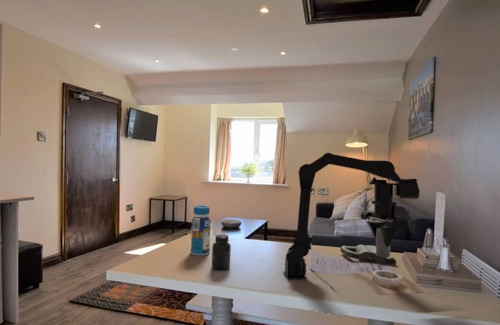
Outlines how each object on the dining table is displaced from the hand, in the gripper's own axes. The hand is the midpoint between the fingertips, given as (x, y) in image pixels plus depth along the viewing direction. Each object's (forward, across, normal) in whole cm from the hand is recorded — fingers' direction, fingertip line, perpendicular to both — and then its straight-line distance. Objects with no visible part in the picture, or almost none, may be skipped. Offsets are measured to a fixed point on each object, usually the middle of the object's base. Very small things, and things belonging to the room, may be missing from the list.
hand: (383, 245), depth 104 cm
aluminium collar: (+12, 0, -1) cm, 12 cm away
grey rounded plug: (+4, 0, 0) cm, 4 cm away
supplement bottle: (+13, +22, +52) cm, 58 cm away
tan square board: (+14, 0, -1) cm, 14 cm away
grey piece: (+14, +28, -10) cm, 33 cm away
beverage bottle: (+12, +42, +59) cm, 74 cm away
